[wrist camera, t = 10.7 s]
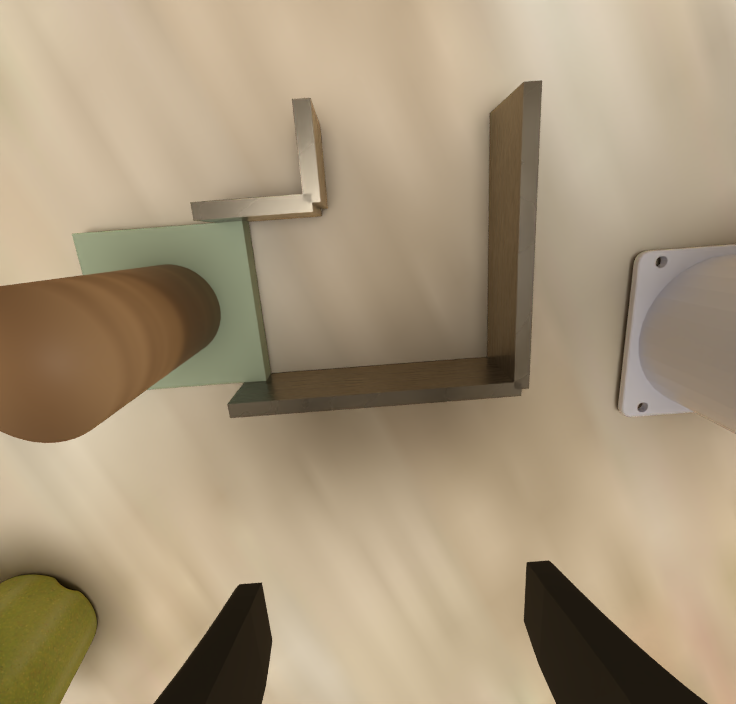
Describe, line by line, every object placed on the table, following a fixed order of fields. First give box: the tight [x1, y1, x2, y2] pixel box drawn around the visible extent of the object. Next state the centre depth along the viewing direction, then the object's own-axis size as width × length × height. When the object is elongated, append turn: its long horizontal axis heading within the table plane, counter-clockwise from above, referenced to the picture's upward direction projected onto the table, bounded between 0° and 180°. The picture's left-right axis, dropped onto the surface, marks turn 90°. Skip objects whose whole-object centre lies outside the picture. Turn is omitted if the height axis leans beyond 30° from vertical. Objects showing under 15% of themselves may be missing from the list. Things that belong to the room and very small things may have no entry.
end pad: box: [72, 221, 271, 390], centre depth 18 cm, size 7×7×1 cm
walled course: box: [190, 81, 542, 418], centre depth 16 cm, size 12×11×4 cm
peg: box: [0, 264, 221, 443], centre depth 14 cm, size 4×4×8 cm
